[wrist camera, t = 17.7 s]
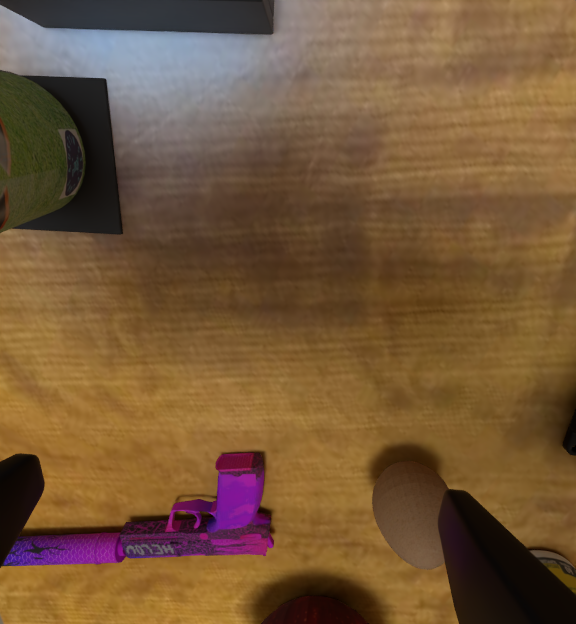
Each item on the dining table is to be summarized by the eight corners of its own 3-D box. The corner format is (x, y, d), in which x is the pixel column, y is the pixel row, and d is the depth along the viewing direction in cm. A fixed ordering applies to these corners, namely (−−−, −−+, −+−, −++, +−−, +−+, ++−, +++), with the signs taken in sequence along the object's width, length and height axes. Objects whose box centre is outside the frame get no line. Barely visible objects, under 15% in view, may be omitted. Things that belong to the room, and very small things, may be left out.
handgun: (263, 448, 24) (259, 471, 22) (281, 537, 27) (279, 564, 25) (-28, 471, 27) (-53, 493, 25) (15, 551, 29) (-5, 576, 27)
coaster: (106, 79, 17) (103, 78, 17) (123, 234, 20) (121, 234, 20) (-42, 73, 18) (-45, 72, 18) (-7, 226, 20) (-10, 227, 20)
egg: (442, 494, 24) (480, 590, 19) (373, 502, 25) (389, 598, 20) (435, 437, 23) (474, 524, 17) (361, 448, 24) (375, 535, 18)
